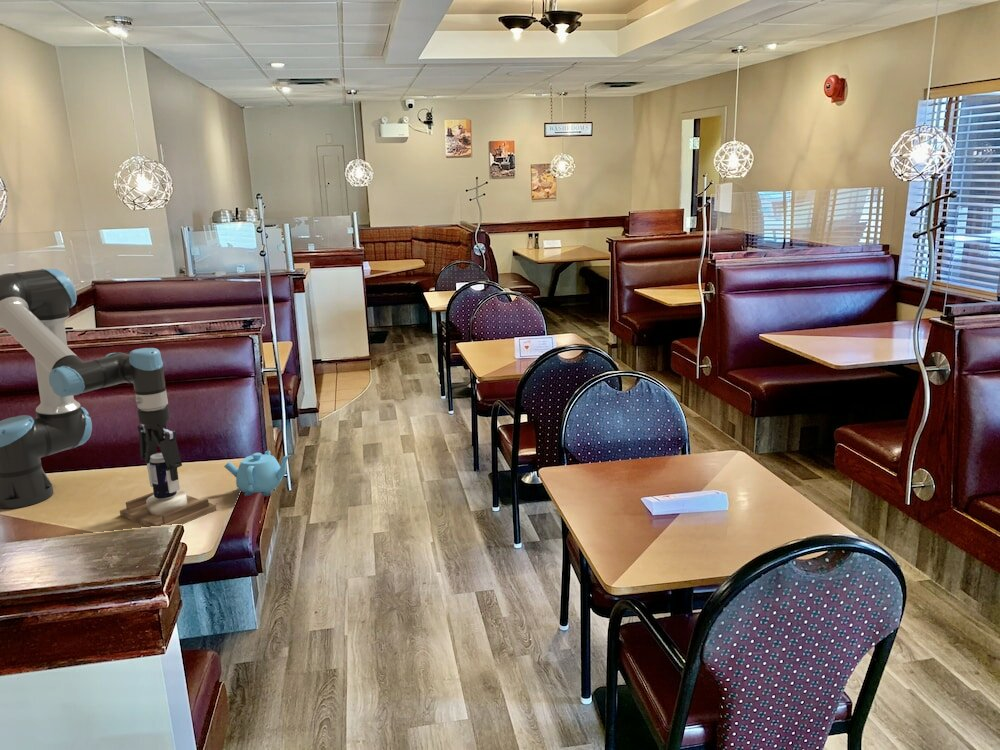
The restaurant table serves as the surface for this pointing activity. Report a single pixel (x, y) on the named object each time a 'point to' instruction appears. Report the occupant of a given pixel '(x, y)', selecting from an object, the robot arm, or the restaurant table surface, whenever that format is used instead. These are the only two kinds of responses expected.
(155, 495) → the beverage can
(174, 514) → the brown wooden tray
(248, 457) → the teapot
